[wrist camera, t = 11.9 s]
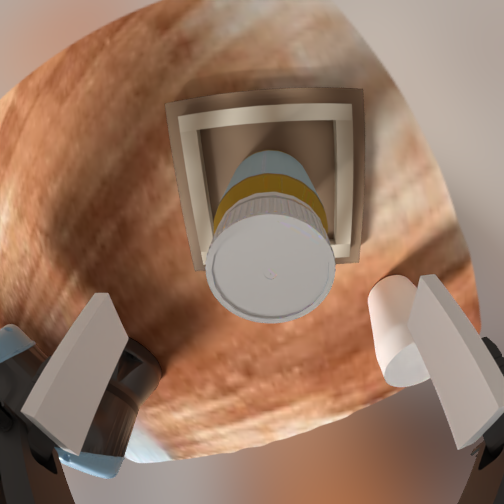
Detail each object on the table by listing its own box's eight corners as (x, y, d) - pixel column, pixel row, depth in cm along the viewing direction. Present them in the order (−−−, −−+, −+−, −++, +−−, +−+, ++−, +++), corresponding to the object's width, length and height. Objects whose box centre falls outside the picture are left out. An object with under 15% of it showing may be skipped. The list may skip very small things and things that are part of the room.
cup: (367, 265, 33) (400, 335, 22) (427, 266, 32) (470, 328, 22) (352, 320, 37) (371, 391, 27) (407, 318, 37) (436, 382, 26)
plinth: (199, 259, 34) (192, 277, 31) (173, 103, 25) (160, 103, 22) (353, 251, 32) (361, 268, 29) (355, 89, 23) (367, 88, 20)
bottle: (314, 210, 27) (350, 315, 14) (244, 226, 29) (223, 337, 16) (298, 140, 24) (333, 187, 11) (224, 159, 25) (173, 225, 12)
